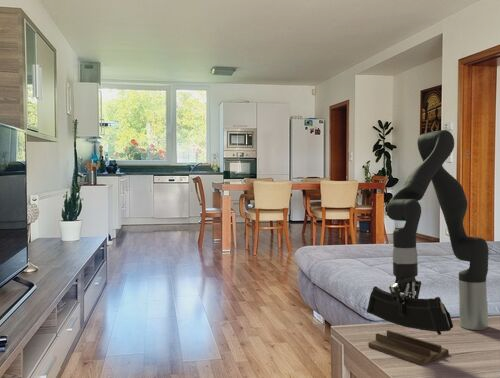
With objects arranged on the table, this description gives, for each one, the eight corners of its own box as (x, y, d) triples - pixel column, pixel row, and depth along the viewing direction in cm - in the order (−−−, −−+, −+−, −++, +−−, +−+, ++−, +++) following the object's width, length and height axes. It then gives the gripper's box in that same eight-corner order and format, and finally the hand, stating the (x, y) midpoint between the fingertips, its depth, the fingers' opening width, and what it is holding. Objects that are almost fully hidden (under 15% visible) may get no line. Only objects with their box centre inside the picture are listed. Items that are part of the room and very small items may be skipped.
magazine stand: (395, 337, 160) (395, 327, 160) (448, 354, 144) (448, 343, 144) (368, 346, 152) (368, 336, 152) (421, 365, 136) (420, 353, 136)
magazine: (360, 289, 162) (433, 276, 138) (366, 287, 163) (439, 274, 140) (372, 339, 157) (449, 334, 134) (378, 337, 159) (456, 332, 136)
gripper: (408, 257, 155) (410, 308, 155) (381, 262, 147) (382, 315, 147) (428, 259, 149) (429, 313, 149) (400, 264, 141) (402, 321, 141)
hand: (406, 314), depth 148 cm, fingers closed on magazine, 3 cm apart
